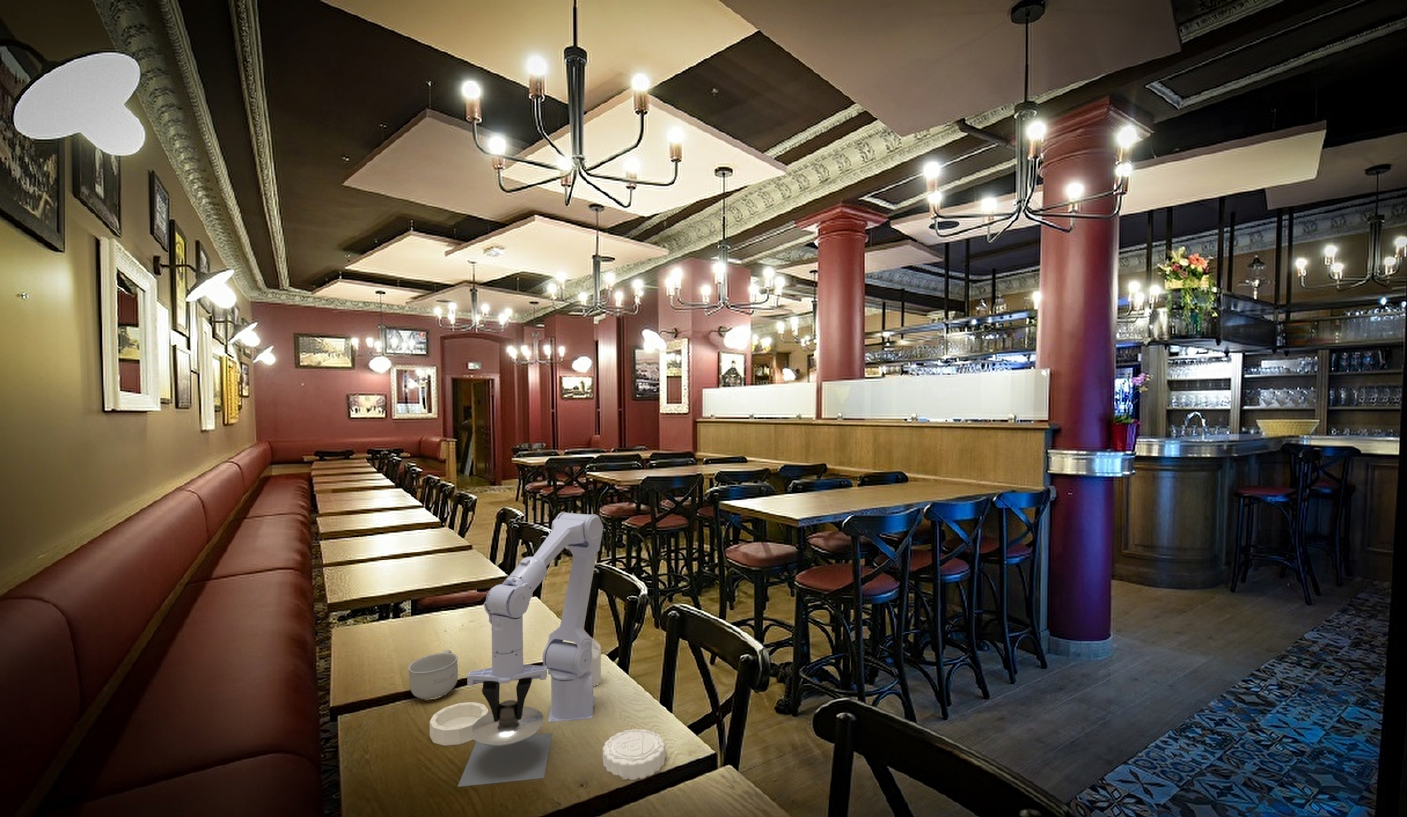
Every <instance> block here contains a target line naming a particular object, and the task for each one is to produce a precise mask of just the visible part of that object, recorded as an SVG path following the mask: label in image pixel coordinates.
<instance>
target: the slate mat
mask: <svg viewBox="0 0 1407 817" xmlns="http://www.w3.org/2000/svg"><path fill="white" fill-rule="evenodd" d="M553 735H554V734H553V732H549V733H548V732H546V733H536V734H535V735H533V736H532V737H530V738H528V739H526V740H524V741H521V742H518V743H515V744H511V745H505V746H488V745H483V744H480V743H478V742H477V741H475V744H474V746H473V748H472V751H471V753H470V754H469V757H468V758H469V759H468V761H467V763H466V765H465V768H464V770H463V772H462V775H461V778H460V779H459V782H458V785H457V788H462V787H473V786H480V785H491V784H492V785H493V784H501V783H511V782H518V781H519V782H521V781H522V782H523V781H530V780H539V779H545V774H546V769H547V764H548V758H549V755H550V749H551V742H552V739H553Z"/></svg>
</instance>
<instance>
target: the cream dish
mask: <svg viewBox="0 0 1407 817" xmlns="http://www.w3.org/2000/svg"><path fill="white" fill-rule="evenodd" d="M488 713H489V709H488V708H487V706H486V705H485V704H484V703H479V702H475V701H474V702H473V701H472V702H471V701H469V702H459V703H455V704H452V705H449V706H448V705H447V706H446V707H443V708H441V709H440V710H438V711H437V712H436V713H434V714H433V715H432V717H431V719H430V720H429V737H430V739H431V741H432V743H433V744H437V745H440V746H444V747H446V746H455V745H456V746H457V745H462V744H465V743H468V742H471V741H475V740H474V738H473V736H472V728H473V725H474V724H475V722H476V721H477V720H478V719H480V718H481V717H482V716H484V715H486V714H488Z"/></svg>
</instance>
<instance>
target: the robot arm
mask: <svg viewBox="0 0 1407 817" xmlns="http://www.w3.org/2000/svg"><path fill="white" fill-rule="evenodd" d="M603 532H604V525H603V522H602V521H601V518H600V516H599V515H597V514H584V513H574V512H565V511H562V512H559V513H558V514H557V515H556V517H555V518H554V520H552V523H551V531H550V532H549V533H548V535H547V537H546V538H545V539H544V541H543V542H542V544H541V545H540V546H539V548H538V549H537V551H536V552H535V554H534V555H533V556H526V557H525V558H522V559H521V560H520V561H519V564H518V565H517V566H516V567H515V569H514V570H513V571H512V572H511V573H510V575H509V576H507V578H506V579H505V580H504V581H503V582H502V584H496V585H495V586H493V587H491V589H490V590H489V591H488V593H487V594H486V597H485V602H484V603H483V607H484V610H485V612H486V614H487V615H488V623H489V624H490V625H491V667H489V668H483V669H478V670H471V671H469V672H468V674H467V677H466V678H467V682H466V683H467V686H468V687H469V686H470V687H471V686H474V685H477V684H482V688H481V693H482V695H483V696H484V698H485V699H486V701H487V703H488V705H489V707H490V712H492V714H493V718H494V722H498V720H499V719H498V706H499V704H500V703H501V702H500V689H501V688H500V687H501V686H500V685H501V684H509V683H510V682H511V681H512V682H513V681H515V682H516V681H518V682H517V684H516V686H515V687H516V689H515V690H516V701H517V720H520V719H521V717H522V712H523V706H525V699H526V697H527V695H528V692H529V691H530V688H531V686H532V685H531V684H532V681H533V680H540V681H545V680H547V677H548V675H550V681H551V682H550V689H551V690H550V692H551V693H550V694H551V696H550V697H551V698H550V699H551V701H550V702H551V703H550V704H551V705H550V709H549V714H548V718H547V722H548V723H558V722H568V721H578V720H580V721H581V720H589V719H593V716H594V706H595V705H596V704H595V703H596V702H595V701H596V697H595V696H596V695H594V693H595V692H594V687H593V671H588V669H589V668H590V666H591V662H592V641H593V640H592V638H593V637H592V636H590V635H589V633H588V632H586V630H585V622H586V616H587V612H588V611H587V610H588V606H589V599H590V594H591V587H592V583H593V582H592V581H593V576H594V570H595V567H596V566H595V565H596V558H597V553H598V552H599V551H600V549H601V542H602V538H603ZM565 548H566V549H568V550H569V551H570V553H571V554H572V561H571V566H570V572H569V576H568V581H567V582H568V583H567V587H566V593H565V598H564V603H563V608H562V615H561V619H560V620H561V621H560V625H559V626H558V627H557V628H556V629H555V630H554V631H552V632H550V634H549V635H548V636H549V637H548V640H547V643H546V645H545V647H544V649H543V651H542V665H534V664H533V665H531V664H524V632H523V631H524V625H523V623H524V620H523V619H524V614H526V612H527V611H528V610H529V609H528V608H529V606H530V601H531V599H533V598H532V597H533V592H534V591H535V590H536V589H537V587H538V586H539V585H540V584H541V583H542V582H543V580H544V579H545V578H546V576H547V574H548V571H547V570H548V569H547V567H548V566H549V564H551V562H553V560H555V558H556V557H557V556H558V555H559V554H560V553H561V552H562V551H563V550H564V549H565ZM591 637H592V638H591Z"/></svg>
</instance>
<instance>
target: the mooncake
mask: <svg viewBox="0 0 1407 817" xmlns="http://www.w3.org/2000/svg"><path fill="white" fill-rule="evenodd" d="M665 760H666V743H665V740H664V738H663V737H661V735H660V734H659V733H655V732H654V731H653V730H647V729H645V728H644V729H643V728H642V729H639V728H633V729H625V730H624V731H622V732H617V733H616V734H615V735H612V736H610V737H609V738H608V740H606V741H605V742H604V746H603V747H602V761H603V764H602V765H603V767H605V768H606V771H607V772H609V773H611V775H612V774H613V776H619V777H621V780H622V781H623V780H630V781H635V780H637V779H639V778H640V779H641V778H642V779H645V778H647V777H649V776H653V775H654V774H655V772H659V771H660V770H661V768H662V767H663V766H665ZM642 779H641V780H642Z"/></svg>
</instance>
